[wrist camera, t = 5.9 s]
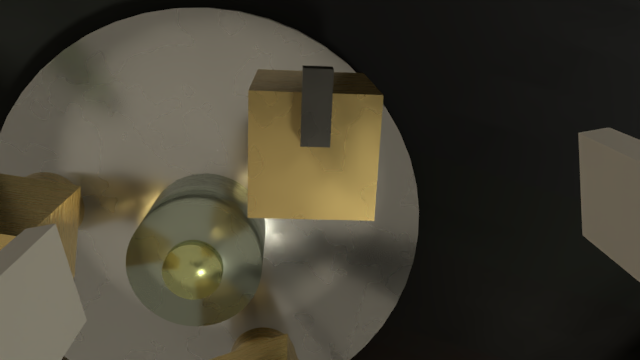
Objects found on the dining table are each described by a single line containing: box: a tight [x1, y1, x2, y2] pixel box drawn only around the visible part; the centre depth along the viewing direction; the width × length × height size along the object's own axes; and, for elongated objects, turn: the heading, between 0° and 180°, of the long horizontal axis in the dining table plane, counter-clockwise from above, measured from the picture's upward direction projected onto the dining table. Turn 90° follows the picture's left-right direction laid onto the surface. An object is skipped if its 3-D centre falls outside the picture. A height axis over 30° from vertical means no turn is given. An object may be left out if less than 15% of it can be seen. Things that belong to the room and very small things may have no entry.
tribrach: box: [0, 7, 419, 360], centre depth 29 cm, size 22×22×6 cm
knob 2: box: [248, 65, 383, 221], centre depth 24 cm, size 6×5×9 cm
